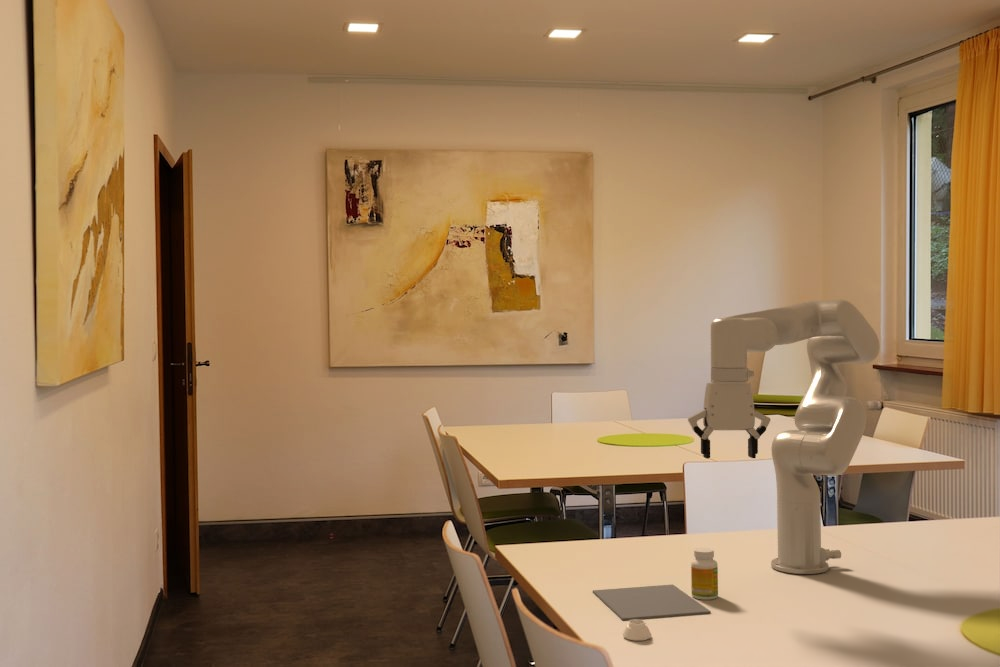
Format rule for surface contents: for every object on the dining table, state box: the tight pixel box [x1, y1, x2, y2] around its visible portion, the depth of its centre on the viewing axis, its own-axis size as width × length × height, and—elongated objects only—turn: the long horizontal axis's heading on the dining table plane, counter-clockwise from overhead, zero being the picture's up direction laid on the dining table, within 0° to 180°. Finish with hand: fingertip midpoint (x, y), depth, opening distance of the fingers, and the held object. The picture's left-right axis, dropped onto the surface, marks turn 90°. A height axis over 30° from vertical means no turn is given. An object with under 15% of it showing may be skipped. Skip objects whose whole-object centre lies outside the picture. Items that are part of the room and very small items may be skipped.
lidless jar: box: [622, 619, 652, 642], centre depth 173 cm, size 5×3×5 cm
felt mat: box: [592, 584, 712, 621], centre depth 194 cm, size 18×20×1 cm
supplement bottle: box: [690, 547, 719, 601], centre depth 198 cm, size 5×5×10 cm
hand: (729, 457), depth 201 cm, fingers open, 9 cm apart
